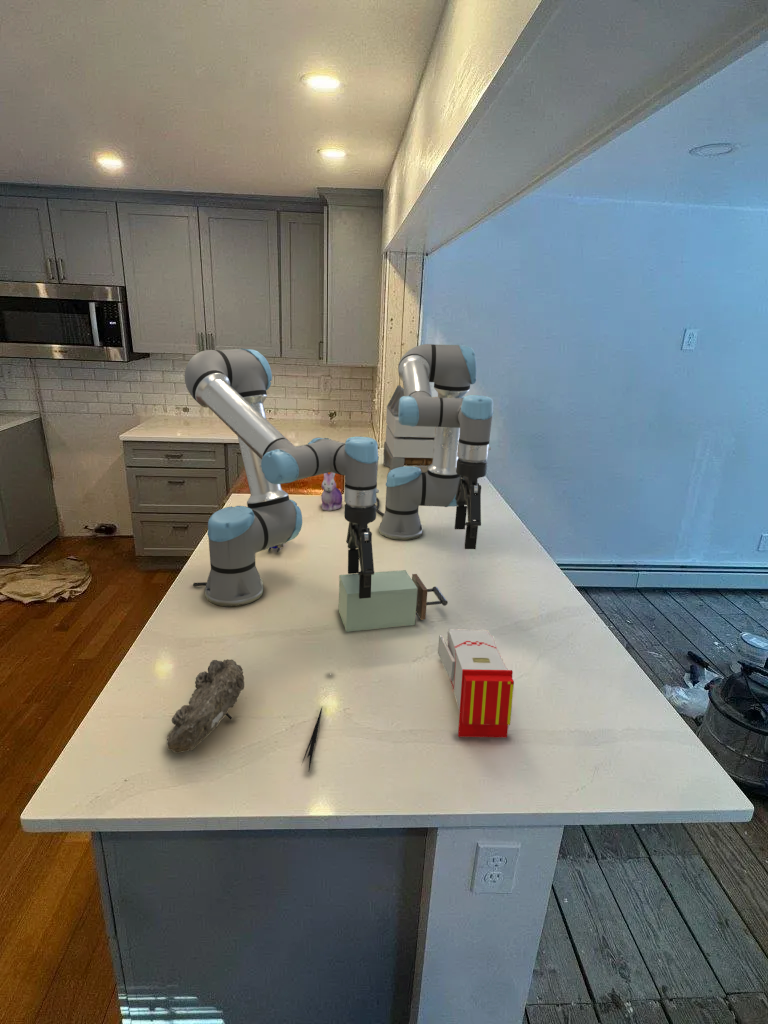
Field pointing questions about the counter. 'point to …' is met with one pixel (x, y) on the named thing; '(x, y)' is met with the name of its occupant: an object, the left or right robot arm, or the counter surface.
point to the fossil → (206, 705)
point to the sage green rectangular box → (378, 601)
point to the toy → (478, 682)
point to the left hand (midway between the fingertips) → (358, 584)
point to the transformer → (406, 439)
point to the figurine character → (276, 547)
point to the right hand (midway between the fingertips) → (464, 538)
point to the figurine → (330, 493)
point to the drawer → (422, 597)
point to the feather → (313, 740)
